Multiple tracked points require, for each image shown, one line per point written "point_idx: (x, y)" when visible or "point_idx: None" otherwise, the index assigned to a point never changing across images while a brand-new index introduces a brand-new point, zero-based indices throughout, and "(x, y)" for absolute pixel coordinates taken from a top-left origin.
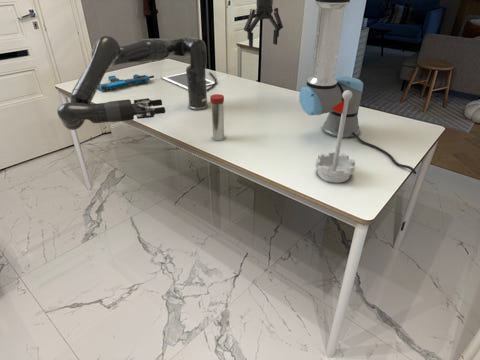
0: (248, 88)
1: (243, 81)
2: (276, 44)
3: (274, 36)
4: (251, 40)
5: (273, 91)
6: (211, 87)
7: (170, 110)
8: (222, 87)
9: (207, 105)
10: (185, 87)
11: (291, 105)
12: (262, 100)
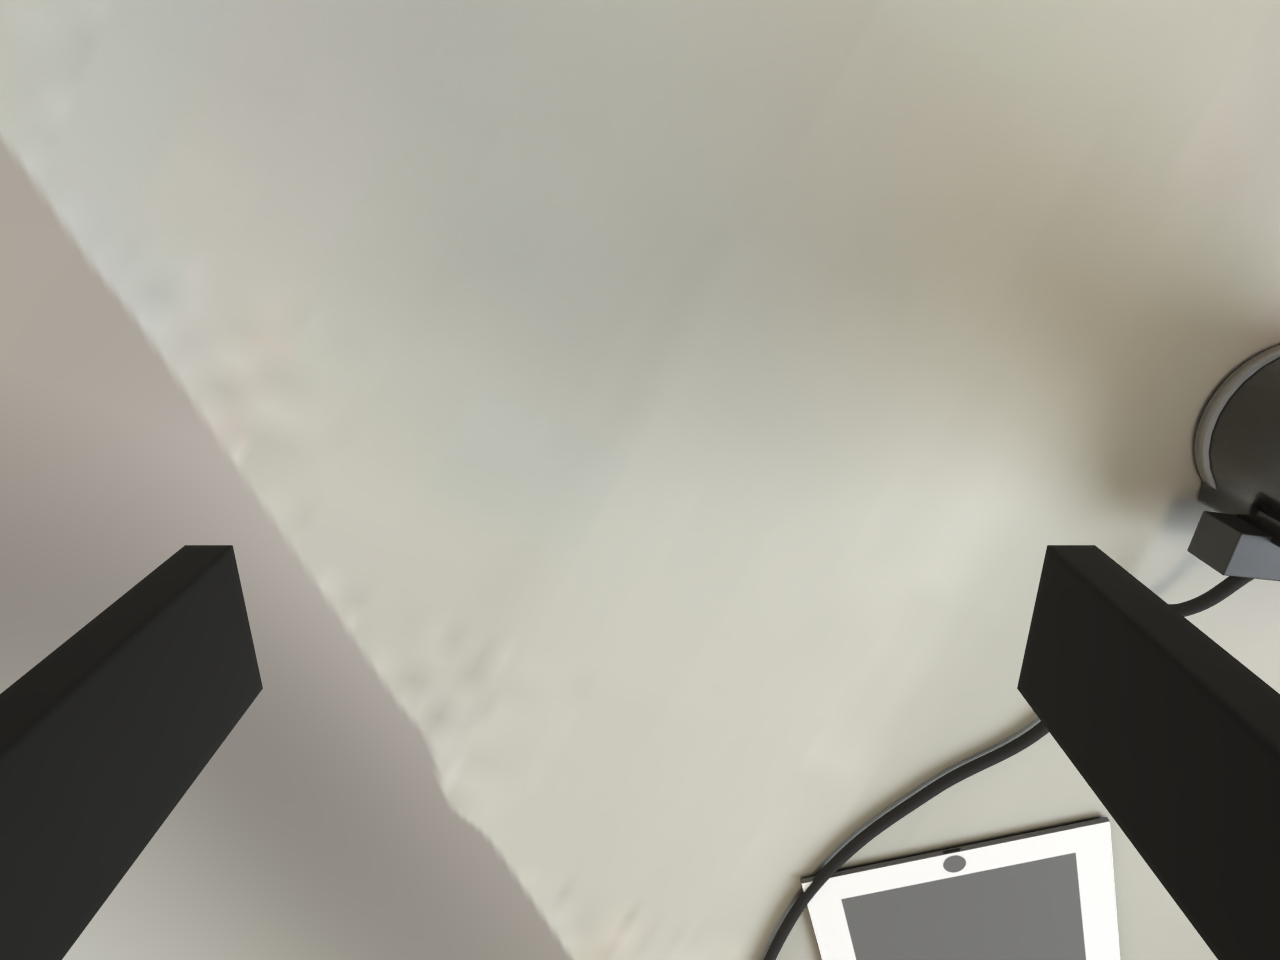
0: (595, 673)
1: (550, 845)
2: (205, 546)
3: (117, 794)
4: (1234, 660)
5: (398, 503)
6: (909, 801)
7: None
8: (803, 783)
9: (1212, 401)
10: (1102, 880)
11: (400, 11)
12: (630, 312)
